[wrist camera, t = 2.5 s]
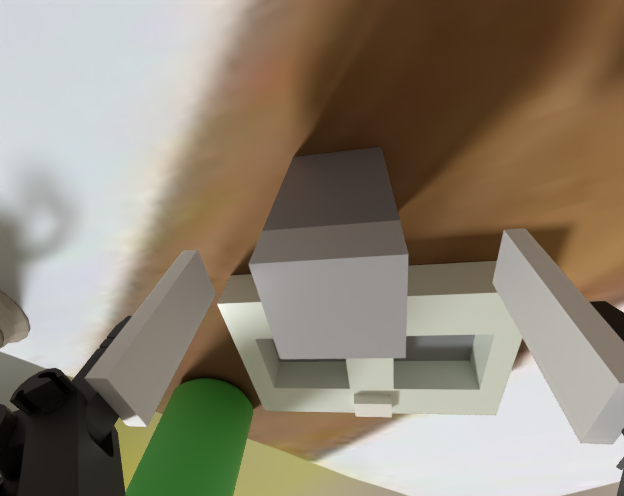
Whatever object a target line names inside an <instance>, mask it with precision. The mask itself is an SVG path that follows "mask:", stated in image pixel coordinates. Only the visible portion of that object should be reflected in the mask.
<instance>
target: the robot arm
mask: <svg viewBox="0 0 624 496" xmlns="http://www.w3.org/2000/svg"><path fill="white" fill-rule="evenodd" d="M492 283H493V285H494V287H495V289H496V290H497V292H498V294H499V296H500V298H501V299H502V301H503V303H504V305H505V307H506V309H507V310H508V312H509V314H510V316H511V318H512V319H513V321H514V323H515V325H516V327H517V329H518V330H519V332H520V334H521V336H522V338H523V339H524V341H525V343H526V345H527V347H528V349H529V350H530V352H531V354H532V356H533V358H534V359H535V361H536V363H537V365H538V367H539V369H540V370H541V372H542V374H543V376H544V378H545V379H546V381H547V383H548V385H549V387H550V389H551V390H552V392H553V394H554V396H555V398H556V399H557V401H558V403H559V405H560V407H561V409H562V410H563V412H564V414H565V416H566V418H567V419H568V421H569V423H570V425H571V427H572V429H573V430H574V432H575V434H576V436H577V438H578V439H579V441H580V443H590V444H614V442H615V441H616V440H617V438H618V437H619V436H620V435H621V433H622V434H623V435H624V313H623V312H622V311H620V310H619V309H617V308H615V307H614V306H612V305H610V304H609V303H607V302H606V301H596V302H589V301H588V300H587V299H586V298H585V297H584V295H583V294H582V293H581V292H580V291H579V290H578V289H577V287H576V286H575V285H574V284H573V283H572V282H571V280H570V279H569V278H568V277H567V276H566V275H565V274H564V272H563V271H562V270H561V269H560V268H559V267H558V265H557V264H556V263H555V262H554V261H553V260H552V259H551V257H550V256H549V255H548V254H547V253H546V252H545V250H544V249H543V248H542V247H541V246H540V245H539V244H538V242H537V241H536V240H535V239H534V238H533V237H532V235H531V234H530V233H529V232H528V231H527V230H526V229H525V228H520V229H505V230H504V231H503V236H502V240H501V245H500V250H499V254H498V259H497V264H496V268H495V273H494V277H493V282H492ZM215 295H216V293H215V290H214V288H213V286H212V283H211V281H210V279H209V276H208V274H207V271H206V269H205V267H204V264H203V262H202V260H201V257H200V255H199V252H198V250H190V251H182V252H181V254H180V255H179V256H178V257H177V259H176V260H175V261H174V263H173V264H172V265H171V266H170V268H169V269H168V270H167V272H166V273H165V274H164V276H163V277H162V278H161V279H160V281H159V282H158V283H157V285H156V286H155V287H154V289H153V290H152V291H151V292H150V294H149V295H148V296H147V298H146V299H145V300H144V301H143V303H142V304H141V305H140V307H139V308H138V309H137V311H136V312H135V313H134V314H133V316H128V317H126V318H125V319H124V320H123V321H121V322H120V323H119V324H118V325H116V326H115V328H114V329H113V330H112V331H111V333H110V334H109V335H108V336H107V339H105V340H104V341H103V343H102V344H101V345H100V348H99V349H97V350H96V351H95V353H94V354H93V355H92V356H91V358H90V359H89V360H88V361H87V363H86V364H85V365H84V366H83V368H82V369H81V370H80V371H79V373H78V374H77V375H76V376H75V378H74V379H73V380H72V381H70V380H69V378H68V377H67V376H66V375H65V374H64V373H63V372H62V371H61V370H59V369H57V368H51V369H46V370H44V371H41V372H38V373H37V374H35V375H33V376H32V377H30V378H28V379H27V380H26V381H25V382H24V383H22V384H21V385H20V386H19V387H18V389H17V390H16V391H15V392H14V393H13V395H12V397H11V399H10V402H11V403H13V404H14V405H15V406H16V407H17V408H19V409H20V410H18V411H14V412H12V411H11V410H10V409H9V408H7V407H6V406H5V405H2V404H0V496H126V495H125V487H124V479H123V471H122V463H121V455H120V448H119V440H118V432H117V430H116V428H115V427H114V424H115V423H116V421H117V420H118V418H119V417H120V418H121V419H122V420H123V422H124V423H125V424H126V425H127V426H141V427H147V426H148V424H149V422H150V420H151V418H152V416H153V415H154V413H155V411H156V409H157V407H158V405H159V403H160V401H161V399H162V397H163V395H164V393H165V391H166V390H167V388H168V386H169V384H170V382H171V380H172V378H173V376H174V374H175V372H176V370H177V368H178V366H179V364H180V363H181V361H182V359H183V357H184V355H185V353H186V351H187V349H188V347H189V345H190V343H191V341H192V339H193V337H194V336H195V334H196V332H197V330H198V328H199V326H200V324H201V322H202V320H203V318H204V316H205V314H206V312H207V310H208V309H209V307H210V305H211V303H212V301H213V299H214V297H215ZM616 467H617V468H618V469H620V470H622V469H623V468H624V457H623V459H622V460H621V461H620V462H619V464H618V465H617V466H616ZM617 496H624V469H623V473H622V477H621V481H620V485H619V489H618V493H617Z"/></svg>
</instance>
